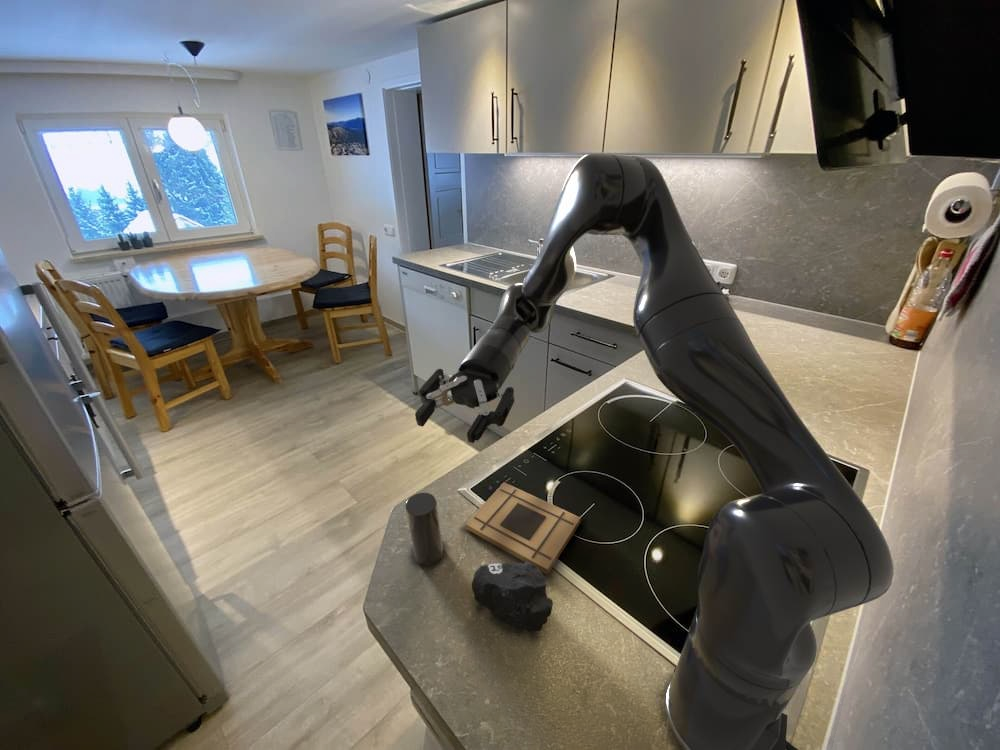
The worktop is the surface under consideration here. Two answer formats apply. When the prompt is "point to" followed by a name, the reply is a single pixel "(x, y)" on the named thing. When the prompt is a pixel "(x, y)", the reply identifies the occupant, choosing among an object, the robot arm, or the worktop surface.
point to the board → (524, 526)
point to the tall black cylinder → (424, 528)
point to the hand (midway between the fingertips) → (443, 430)
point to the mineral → (513, 594)
